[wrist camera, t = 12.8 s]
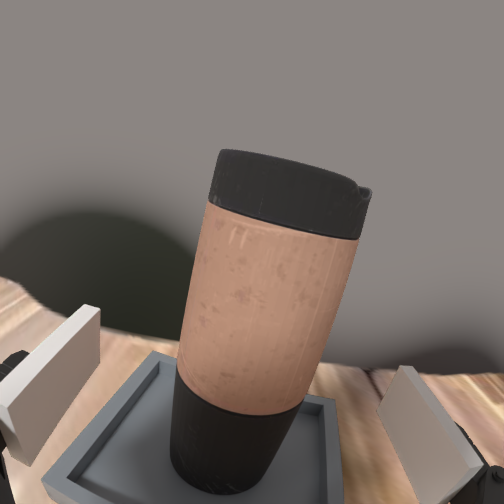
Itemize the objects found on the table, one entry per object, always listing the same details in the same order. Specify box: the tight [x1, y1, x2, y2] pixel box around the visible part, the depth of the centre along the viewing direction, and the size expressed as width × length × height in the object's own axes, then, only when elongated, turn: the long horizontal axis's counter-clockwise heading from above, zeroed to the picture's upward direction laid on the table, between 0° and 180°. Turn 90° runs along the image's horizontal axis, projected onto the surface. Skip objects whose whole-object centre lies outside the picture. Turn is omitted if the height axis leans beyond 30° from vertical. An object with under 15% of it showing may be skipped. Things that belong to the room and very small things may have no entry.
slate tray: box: [41, 351, 344, 504], centre depth 19 cm, size 18×18×2 cm
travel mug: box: [170, 149, 372, 495], centre depth 17 cm, size 8×8×20 cm
